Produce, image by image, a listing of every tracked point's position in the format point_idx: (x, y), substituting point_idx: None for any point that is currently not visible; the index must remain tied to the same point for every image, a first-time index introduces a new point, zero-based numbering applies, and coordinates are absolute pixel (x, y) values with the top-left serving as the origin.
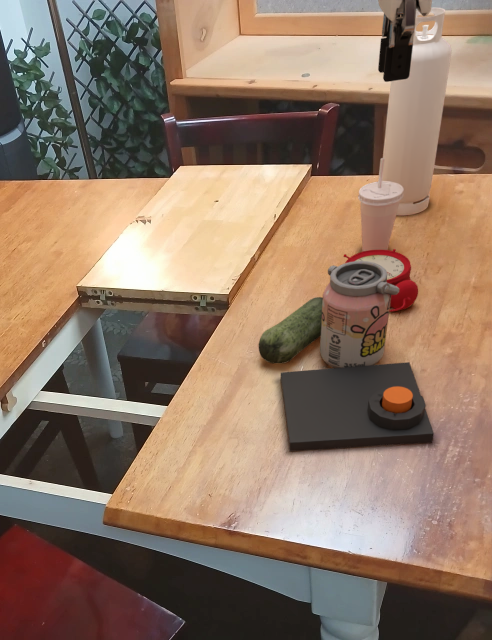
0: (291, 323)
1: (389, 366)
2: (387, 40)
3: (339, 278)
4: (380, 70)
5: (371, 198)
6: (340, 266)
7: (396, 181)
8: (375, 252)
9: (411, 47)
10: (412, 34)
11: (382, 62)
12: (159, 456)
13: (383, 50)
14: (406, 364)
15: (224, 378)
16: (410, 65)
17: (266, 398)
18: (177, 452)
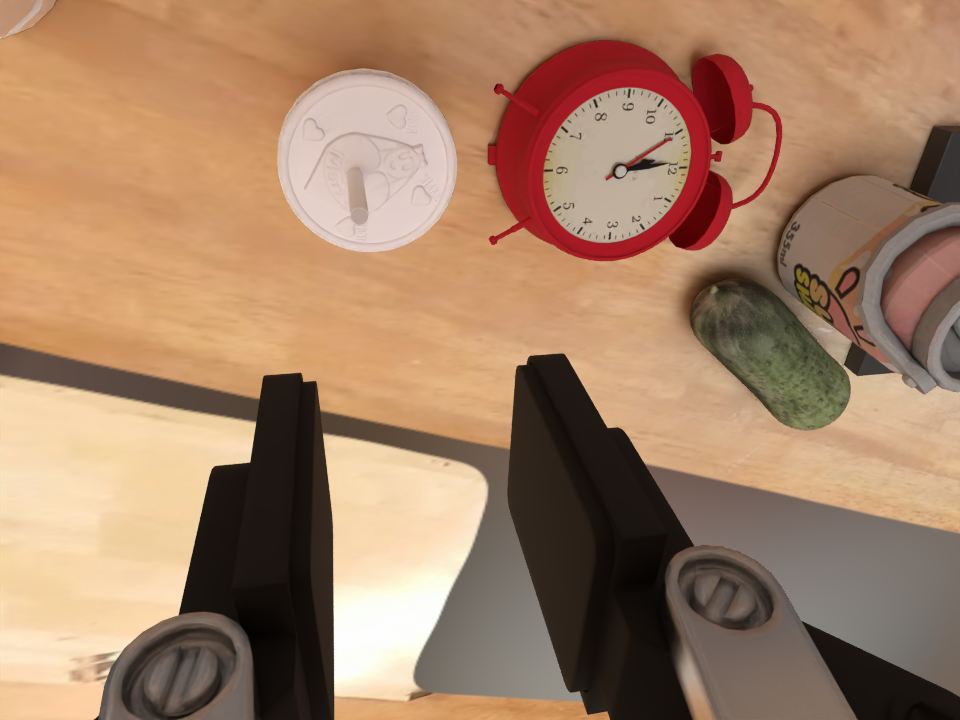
0: (815, 388)
1: (944, 177)
2: (325, 709)
3: (947, 363)
4: (332, 527)
5: (439, 215)
6: (941, 371)
7: (3, 2)
8: (534, 162)
9: (646, 516)
10: (805, 655)
11: (332, 565)
12: (924, 508)
13: (332, 648)
14: (957, 140)
15: (793, 449)
16: (591, 401)
17: (877, 385)
18: (929, 489)
